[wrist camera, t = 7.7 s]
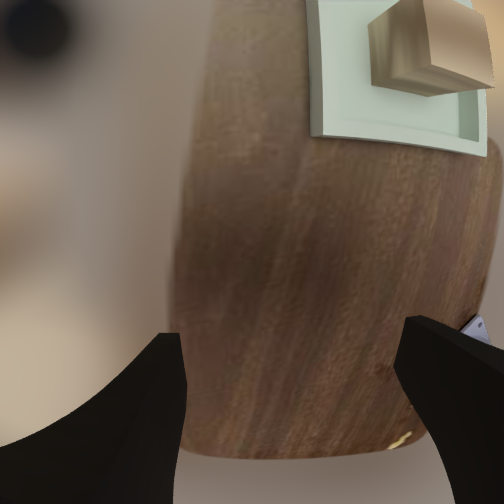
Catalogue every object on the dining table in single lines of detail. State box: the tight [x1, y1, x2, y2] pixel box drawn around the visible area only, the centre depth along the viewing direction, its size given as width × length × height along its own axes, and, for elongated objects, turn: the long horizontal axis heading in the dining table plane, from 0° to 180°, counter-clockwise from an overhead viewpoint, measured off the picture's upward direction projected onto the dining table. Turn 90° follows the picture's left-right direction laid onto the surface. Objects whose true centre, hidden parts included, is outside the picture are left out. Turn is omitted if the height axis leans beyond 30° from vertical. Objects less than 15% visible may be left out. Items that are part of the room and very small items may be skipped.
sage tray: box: [306, 0, 487, 157], centre depth 14 cm, size 11×11×2 cm
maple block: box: [367, 0, 495, 97], centre depth 12 cm, size 4×4×6 cm
